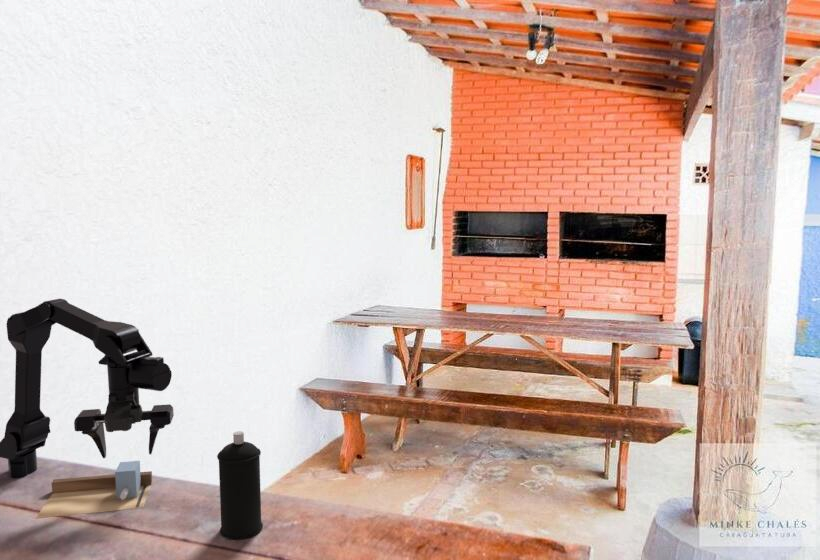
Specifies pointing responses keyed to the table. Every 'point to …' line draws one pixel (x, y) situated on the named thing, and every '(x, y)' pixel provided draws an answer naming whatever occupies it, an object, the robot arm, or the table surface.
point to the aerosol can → (240, 489)
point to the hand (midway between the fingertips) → (127, 455)
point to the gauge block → (128, 479)
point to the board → (91, 496)
